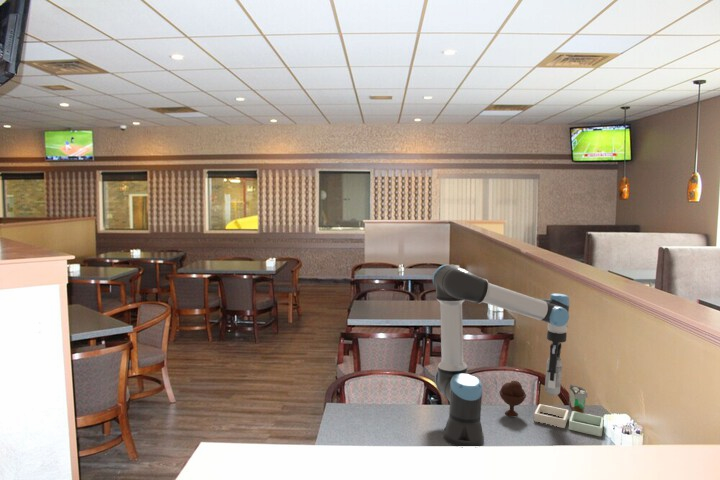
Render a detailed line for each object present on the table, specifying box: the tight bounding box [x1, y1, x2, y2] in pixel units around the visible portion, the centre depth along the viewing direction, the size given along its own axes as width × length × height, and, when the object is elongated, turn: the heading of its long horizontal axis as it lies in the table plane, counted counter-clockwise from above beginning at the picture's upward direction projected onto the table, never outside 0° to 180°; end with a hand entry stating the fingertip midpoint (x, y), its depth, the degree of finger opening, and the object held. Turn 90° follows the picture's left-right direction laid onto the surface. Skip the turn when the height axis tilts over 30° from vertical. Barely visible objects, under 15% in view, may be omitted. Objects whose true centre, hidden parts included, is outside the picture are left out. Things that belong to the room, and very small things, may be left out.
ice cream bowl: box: [499, 380, 527, 417], centre depth 219 cm, size 11×11×15 cm
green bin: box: [568, 411, 605, 437], centre depth 209 cm, size 12×12×4 cm
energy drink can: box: [544, 356, 563, 397], centre depth 214 cm, size 6×6×15 cm
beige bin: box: [533, 403, 570, 429], centre depth 215 cm, size 12×12×4 cm
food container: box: [568, 384, 589, 413], centre depth 224 cm, size 12×6×10 cm, turn 168°
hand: (552, 385), depth 214 cm, fingers closed on energy drink can, 6 cm apart
